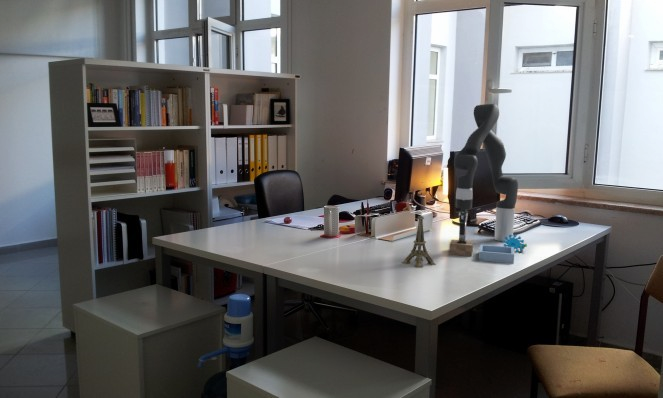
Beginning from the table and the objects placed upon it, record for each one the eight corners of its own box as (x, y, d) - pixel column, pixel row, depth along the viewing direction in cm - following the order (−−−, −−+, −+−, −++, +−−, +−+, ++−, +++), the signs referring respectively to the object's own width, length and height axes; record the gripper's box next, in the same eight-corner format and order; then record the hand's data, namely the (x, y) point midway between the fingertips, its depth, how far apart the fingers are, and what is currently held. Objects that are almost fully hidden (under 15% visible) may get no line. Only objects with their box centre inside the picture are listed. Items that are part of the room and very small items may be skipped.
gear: (501, 248, 273) (505, 231, 278) (500, 254, 277) (503, 238, 283) (525, 253, 269) (528, 236, 275) (523, 260, 274) (526, 243, 279)
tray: (480, 252, 270) (480, 244, 269) (513, 255, 266) (513, 247, 265) (478, 260, 256) (479, 251, 255) (513, 263, 251) (514, 254, 251)
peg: (458, 246, 271) (459, 222, 269) (465, 247, 270) (466, 222, 268) (458, 248, 268) (459, 223, 266) (464, 248, 267) (466, 223, 265)
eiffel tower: (418, 268, 241) (421, 209, 237) (401, 262, 249) (403, 206, 245) (436, 264, 247) (438, 207, 243) (418, 259, 255) (421, 204, 252)
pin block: (451, 249, 275) (451, 239, 274) (472, 251, 272) (473, 241, 272) (449, 254, 266) (449, 243, 265) (471, 256, 263) (472, 245, 262)
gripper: (457, 195, 273) (455, 230, 275) (454, 199, 260) (452, 236, 262) (473, 196, 271) (471, 231, 273) (471, 200, 257) (469, 237, 260)
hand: (462, 233), depth 268 cm, fingers closed on peg, 3 cm apart
